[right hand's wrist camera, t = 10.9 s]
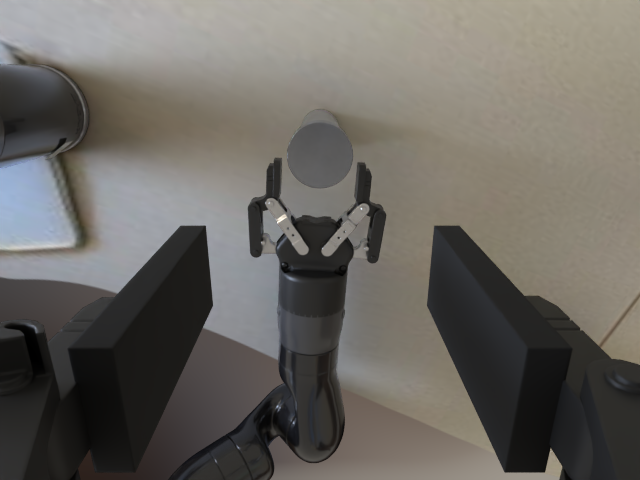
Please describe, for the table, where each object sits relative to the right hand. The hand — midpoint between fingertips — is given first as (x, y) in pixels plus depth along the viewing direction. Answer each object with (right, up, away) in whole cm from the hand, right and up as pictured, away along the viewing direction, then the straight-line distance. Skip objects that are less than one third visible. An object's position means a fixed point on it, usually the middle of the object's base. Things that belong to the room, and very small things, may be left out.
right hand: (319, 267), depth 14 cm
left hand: (0, +9, +32) cm, 33 cm away
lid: (0, +7, +20) cm, 21 cm away
